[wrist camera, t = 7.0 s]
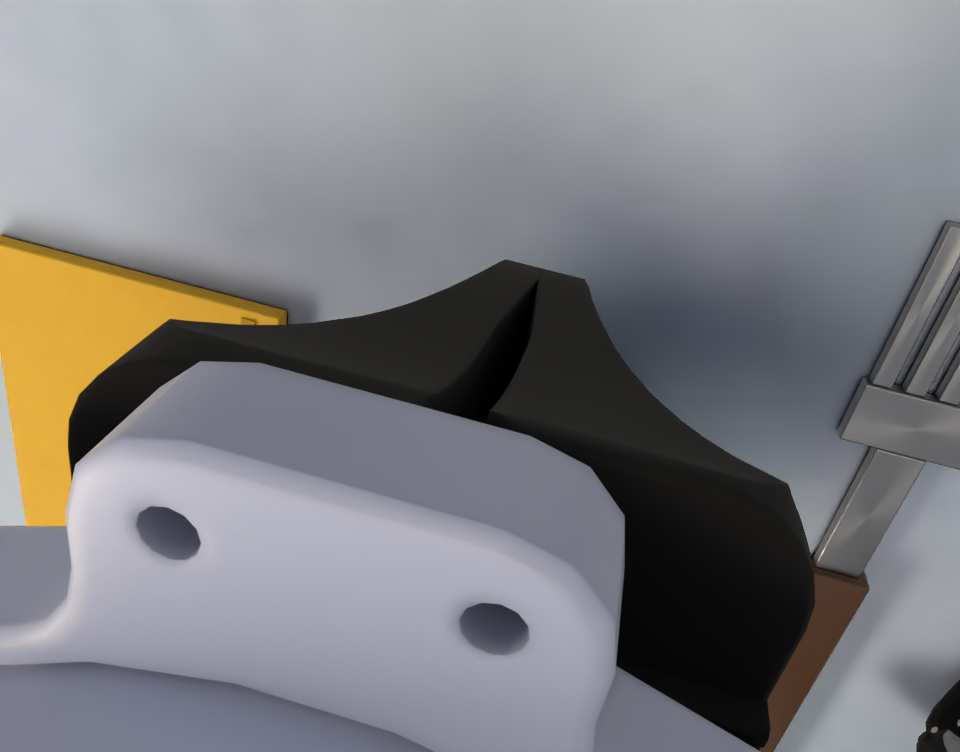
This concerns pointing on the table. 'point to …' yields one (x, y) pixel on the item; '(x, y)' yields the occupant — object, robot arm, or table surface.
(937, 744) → the smartwatch
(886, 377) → the fork
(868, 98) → the table surface
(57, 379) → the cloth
